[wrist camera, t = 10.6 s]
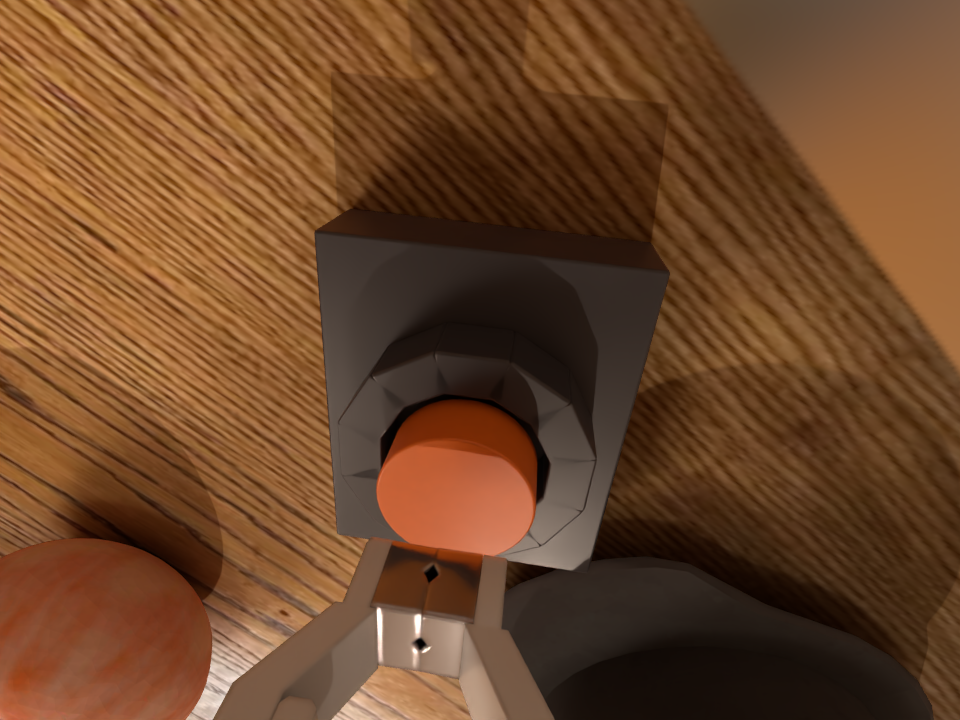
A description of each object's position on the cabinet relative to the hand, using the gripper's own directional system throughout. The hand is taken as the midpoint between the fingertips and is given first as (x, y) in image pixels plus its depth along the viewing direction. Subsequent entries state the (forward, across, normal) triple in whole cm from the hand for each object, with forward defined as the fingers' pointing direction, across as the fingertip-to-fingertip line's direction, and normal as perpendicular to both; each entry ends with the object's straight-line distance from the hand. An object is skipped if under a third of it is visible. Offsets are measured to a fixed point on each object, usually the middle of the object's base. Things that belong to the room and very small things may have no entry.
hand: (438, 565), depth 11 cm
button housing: (+8, 0, 0) cm, 8 cm away
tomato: (+8, +16, +14) cm, 23 cm away
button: (+4, 0, 0) cm, 4 cm away
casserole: (+8, -11, +16) cm, 21 cm away
